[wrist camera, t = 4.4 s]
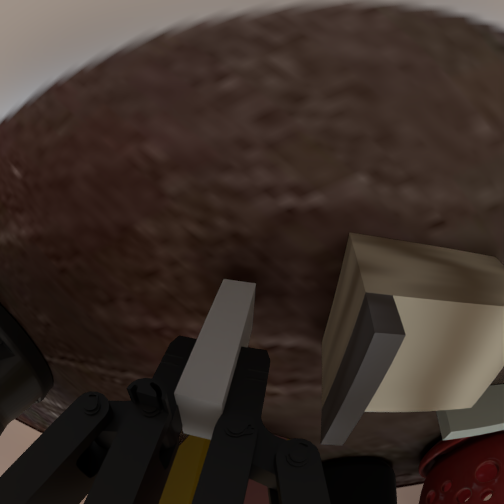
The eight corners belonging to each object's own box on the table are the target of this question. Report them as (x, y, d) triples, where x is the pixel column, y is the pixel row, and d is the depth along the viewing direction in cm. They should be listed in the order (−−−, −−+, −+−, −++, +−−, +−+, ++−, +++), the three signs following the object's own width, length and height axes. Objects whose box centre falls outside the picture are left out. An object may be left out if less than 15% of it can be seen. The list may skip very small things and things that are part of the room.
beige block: (321, 339, 18) (320, 444, 11) (348, 230, 14) (375, 332, 8) (449, 348, 17) (479, 435, 10) (494, 255, 13) (558, 337, 7)
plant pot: (509, 436, 22) (527, 513, 11) (415, 474, 26) (420, 555, 16) (528, 383, 17) (564, 486, 7) (405, 436, 22) (414, 552, 11)
